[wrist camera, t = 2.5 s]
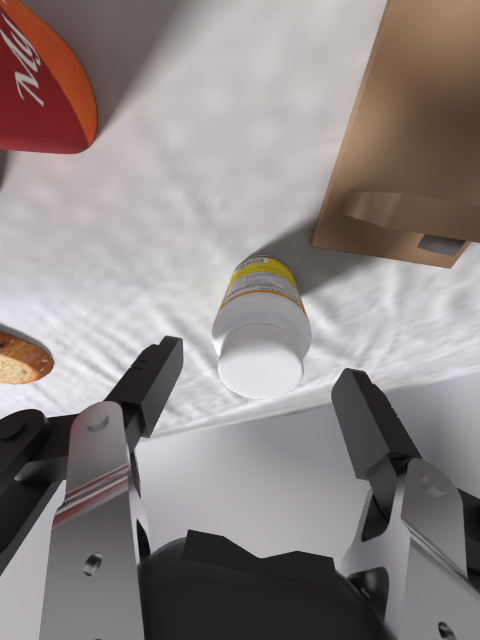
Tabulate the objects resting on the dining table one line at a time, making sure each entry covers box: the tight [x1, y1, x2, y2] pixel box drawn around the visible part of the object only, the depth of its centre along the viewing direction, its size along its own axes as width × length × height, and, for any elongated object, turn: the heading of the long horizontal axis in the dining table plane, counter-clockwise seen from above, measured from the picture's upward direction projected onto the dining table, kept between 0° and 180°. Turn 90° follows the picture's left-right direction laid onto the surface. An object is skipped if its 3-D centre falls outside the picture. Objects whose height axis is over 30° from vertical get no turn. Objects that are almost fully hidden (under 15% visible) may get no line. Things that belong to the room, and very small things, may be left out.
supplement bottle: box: [212, 255, 312, 399], centre depth 13 cm, size 6×6×10 cm
